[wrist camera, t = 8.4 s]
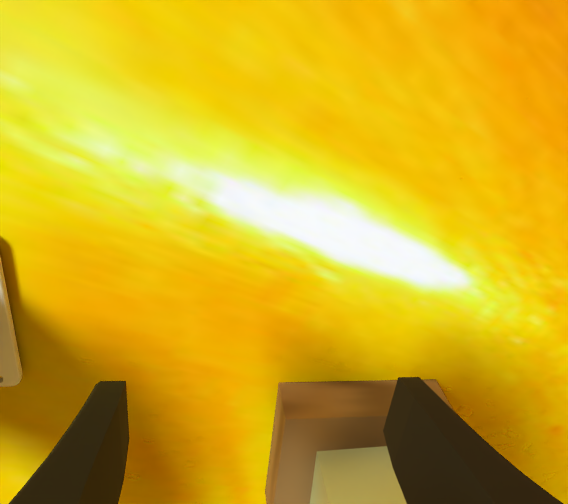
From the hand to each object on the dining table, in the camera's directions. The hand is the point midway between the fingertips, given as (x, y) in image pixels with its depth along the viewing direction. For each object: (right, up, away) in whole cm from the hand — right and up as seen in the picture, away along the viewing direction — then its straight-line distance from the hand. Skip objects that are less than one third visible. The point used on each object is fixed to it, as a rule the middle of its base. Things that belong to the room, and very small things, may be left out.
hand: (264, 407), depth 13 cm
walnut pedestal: (+4, -7, +16) cm, 18 cm away
